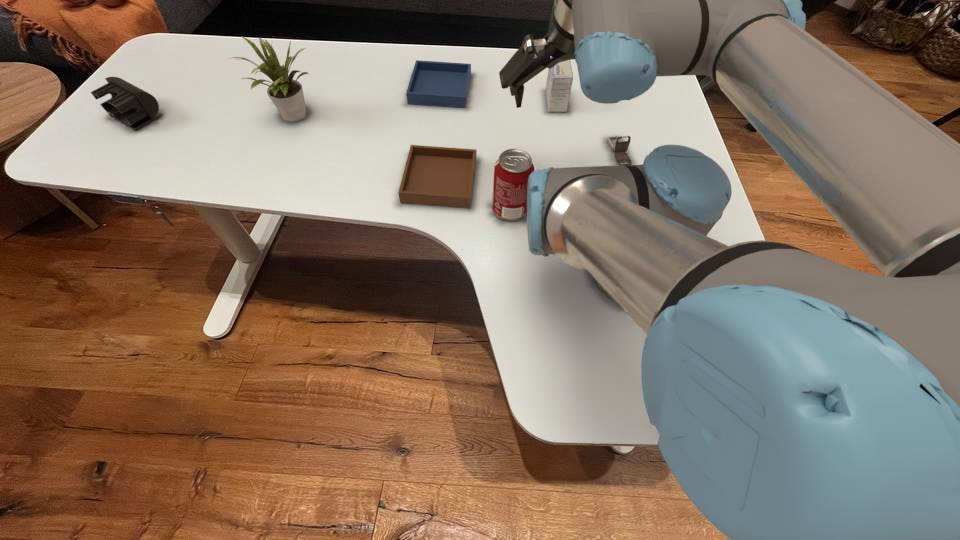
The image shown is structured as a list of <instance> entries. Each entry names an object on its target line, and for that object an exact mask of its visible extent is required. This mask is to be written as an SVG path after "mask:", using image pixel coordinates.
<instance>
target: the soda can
mask: <svg viewBox="0 0 960 540" xmlns="http://www.w3.org/2000/svg"><path fill="white" fill-rule="evenodd" d="M533 171H535V165H534V162H533V159H532V156H531V155H530V153H528V152H527V151H525V150H523V149H521V148H508V149H506V150H504V151H502V152H501V153H500V154H499V157H498V159H497V160H496V161H495V163H494V168H493V182H492V183H493V185H492V200H491V209H492V211H493V213H494V214H495V215H496V216H497V217H498V218H500V219H502V220H505V221H516V220H520V219H522V218H523V217H524V216H526V215H527V186H528V178H529V176H530V174H531V173H532V172H533Z"/></svg>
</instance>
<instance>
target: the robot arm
mask: <svg viewBox="0 0 960 540" xmlns="http://www.w3.org/2000/svg"><path fill="white" fill-rule="evenodd" d="M549 18H550V19H549V23H548V31H547V33H546V34H544V36H543V38H539V39H534V36H533V34H526V35H525V36H524V37H523V40H522V43H521V45H520V47H519V48H518V49H517V50H516V52H515V53H514V54H513V55H512V56H511V57H510V58H509V59H508V61H507V63H505V65H504V66H503V67H502V68H501V69H500V71H499V72H498V74H499V81H500V86H501V89H503V90H505V89H508V88H509V92H510V96H511V97H514V100H515V105H516V109H519V108H522V104H523V98H524V91H525V84H526V83H528V82H530V81H531V80H532V79H533V78H535V77H536V76H537V75H539V74H541V72H543V71H545V70H546V69H548V70H549V69H550V68H552V67H554V66H555V65H556V64H558V63H559V62H563V61H567V60H570V61H571V60H575V64H576V66H577V73H578V78H579V79H578V80H579V85H580V90H581V91H582V94H583V95H584V97H585V98H587V99H588V100H590V101H592V102H594V103H598V104H605V105H609V104H617V103H620V102H621V101H631V100H634V99H635V98H637V97H640V96H642V95H643V94H645V93H646V92H648V91H649V90H650V89H651V88H652V86H653V85H654V84H655V83H656V79H657V77H677V76H707V77H709V78H710V79H711V81H712V82H713V83H714V84H715V85H716V86H717V87H718V88H719V89H720V90H721V91H722V93H723V94H724V95H725V96H726V97H727V98H728V100H729V101H730V102H731V103H732V104H733V105H734V106H735V107H736V109H737V110H738V111H739V112H740V113H741V114H742V115H743V117H744V118H745V119H746V120H747V122H748V123H750V125H751V126H752V127H753V128H754V129H755V130H756V131H757V132H758V134H759V135H760V136H761V137H762V138H763V140H764V141H765V142H766V143H767V144H768V145H769V146H770V147H771V149H772V150H773V151H774V152H775V153H776V154H777V155H778V157H779V158H780V159H781V160H782V161H783V162H784V163H785V165H786V166H787V167H788V168H789V169H790V171H792V173H793V174H794V175H795V176H796V177H797V178H798V179H799V181H800V182H801V183H802V184H803V185H804V186H805V187H806V188H807V190H808V191H809V192H810V193H811V194H812V196H813V197H814V198H815V199H816V200H817V201H818V202H819V203H820V205H821V206H822V207H823V208H824V209H825V210H826V212H828V213H829V215H830V216H831V217H832V218H833V219H834V221H836V223H837V224H838V225H839V226H840V228H841V229H842V230H843V231H844V232H845V233H846V234H847V236H849V238H850V239H851V240H852V241H853V242H854V243H855V244H856V246H857V247H858V248H859V249H860V250H861V251H862V252H863V254H864V255H865V256H866V258H867V259H869V261H870V262H871V264H873V265H874V267H876V269H877V270H878V271H879V272H880V273H881V274H882V275H879V274H873V273H869V272H864V271H862V270H858V269H856V268H852V267H850V266H847V265H845V264H842V263H839V262H836V261H833V260H832V259H829V258H825V257H823V256H821V255H818V254H815V253H812V252H810V251H807V250H804V249H802V248H799V247H798V246H797V247H796V246H794V245H791V244H788V243H783V242H779V241H776V240H775V241H774V240H748V241H744V242H738V243H735V244H732V245H727V244H724V243H722V242H721V241H718V240H716V239H714V238H712V237H710V236H708V234H709V233H710V232H711V231H712V229H713V228H714V226H715V225H716V224H717V223H718V222H719V221H720V220H721V219H722V217H723V214H724V211H725V209H726V208H727V206H728V204H729V203H730V201H731V198H732V194H733V193H732V191H733V190H732V184H731V181H730V179H729V176H728V175H727V173H726V172H725V170H724V169H723V167H721V166H720V165H719V164H718V163H717V162H716V161H715V160H714V159H713V158H712V157H710V156H708V155H706V154H704V153H703V152H701V151H699V150H697V149H695V148H692V147H689V146H685V145H681V144H664V145H659V146H657V147H655V148H653V150H652V151H650V152H649V153H648V154H647V155H646V156H645V157H644V159H643V163H642V164H631V165H626V166H623V165H618V164H616V165H597V166H596V165H595V166H594V165H593V166H575V167H573V166H572V167H552V166H549V167H547V168H542V169H536V170H535V169H534V171H533V172H532V173H531V174H530V176H529V178H528V186H527V213H526V230H527V231H526V233H527V245H528V246H527V247H528V251H529V253H530V254H532V255H534V256H542V257H543V258H545V257H549V256H550V255H555V256H556V257H557V258H559V260H561V261H563V263H565V264H567V265H568V266H571V267H573V268H576V269H579V270H586V271H588V273H589V274H590V275H591V276H592V278H593V280H594V282H595V283H596V285H597V288H599V289H600V291H601V292H602V293H603V294H605V296H607V297H608V298H609V299H610V300H612V301H614V302H616V303H617V304H618V305H619V307H621V309H622V310H623V311H624V312H625V313H626V314H627V315H628V316H629V317H630V318H631V319H632V320H633V321H634V323H636V324H637V326H638V327H639V328H640V329H641V330H642V331H643V332H644V333H645V335H646V337H645V340H644V344H643V347H642V352H641V353H642V354H641V361H640V362H641V363H640V364H641V365H640V373H641V374H640V376H641V378H640V379H641V389H642V395H643V396H642V397H643V401H644V402H643V403H644V407H645V411H646V415H647V418H648V421H649V423H650V425H651V426H654V427H655V428H656V430H657V433H658V441H657V446H658V448H659V451H660V453H661V455H662V457H663V459H664V461H665V463H666V465H667V466H668V468H669V471H670V473H672V475H673V477H674V479H675V480H676V482H677V483H678V485H679V487H680V488H681V490H682V492H684V494H685V495H686V496H687V498H688V499H689V500H690V502H691V503H692V504H693V505H694V507H695V508H696V509H697V511H699V512H700V514H701V515H703V517H704V518H706V519H707V521H708V522H709V523H710V524H711V525H712V526H713V527H714V528H716V529H717V530H718V531H719V532H720V533H721V534H723V536H725V537H726V538H727V539H729V540H960V143H959V142H958V141H957V140H955V139H954V138H953V137H951V136H950V135H948V134H947V133H946V132H945V131H943V130H942V129H940V128H939V127H938V126H936V125H935V124H933V123H932V122H931V121H930V120H928V119H927V118H925V117H923V116H922V115H921V114H920V113H919V112H917V111H915V110H914V109H913V108H911V107H910V106H909V105H908V104H906V103H905V102H904V101H902V100H901V99H899V98H898V97H897V96H895V95H894V94H893V93H891V92H889V90H887V89H885V88H884V87H883V86H882V85H880V84H879V83H877V82H876V81H874V80H873V79H872V78H870V77H869V76H868V75H866V74H865V73H864V72H862V71H861V70H859V69H858V68H857V67H856V66H854V65H853V64H851V63H850V62H848V61H847V60H846V59H844V58H843V57H841V56H840V55H839V54H838V53H836V51H834V50H832V49H831V48H829V47H828V46H827V45H825V44H824V43H822V41H820V40H819V39H817V38H816V37H815V36H814V35H812V34H810V33H809V32H808V31H806V23H807V14H806V13H805V12H804V10H803V2H802V0H554V2H553V7H552V9H551V13H550V17H549ZM551 57H553V58H551Z"/></svg>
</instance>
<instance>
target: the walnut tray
mask: <svg viewBox="0 0 960 540" xmlns="http://www.w3.org/2000/svg"><path fill="white" fill-rule="evenodd" d="M476 165H477V149H475V148H474V149H473V148H462V147H461V148H460V147H447V146H446V147H445V146H434V145H419V144H410V146H409V150H408V154H407V159H406V162H405V166H404V170H403V173H402V178H401V182H400V185H399V189H398V192H397V193H398V198H399V202H400V204H408V205H422V206H435V207H450V208H460V209H461V208H462V209H471V205H472V198H473V197H472V196H473V189H474V181H475V174H476Z"/></svg>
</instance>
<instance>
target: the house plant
mask: <svg viewBox="0 0 960 540" xmlns="http://www.w3.org/2000/svg"><path fill="white" fill-rule="evenodd" d="M240 37H241V38H242V39H243V40H244V41H245V42H247V43H248V44H249V46H251V48H252V49H253V50H254V52H255V54H256V55H257V56H258V58H260V60H262V63H260V64H257V63H255V62H254V61H252V60H250V59H249V58H245V57H241V56H234V57H229V58H227V60H229V59H235V60H238V59H240V60H243V61H247V62H248V63H251V64H253V65H254V66H256V67H255V68H253V70H251V72H250V74H253V73H254V72H255V73H254V75H256V74H257V73H259V72H260V73H262V74H264V75H265V76H267V77H268V79H270V80H271V81H272V82H271V81H270V80H266V79H260V78H259V79H256V78H253V77H242V78H241V80H244V79H245V80H251V81H252V83H251V85H250V90H252V89H253V88H255V87H257V86H258V85H260V84H261V85H265V86H267V90H266V93H267V94H266V95H268V97H269V99H270V100H271V102H272V104H273V105H274V107H275V108H276V110H277V112H278V113H279V114H280V116H281V117H282V119H283V120H284V121H286V122H291V123H295V122H298V121H301V120H303V119H304V118H306V116H307V114H308V113H307V107H306V101H305V95H304V89H303V85H302V83H301V82H300V81H298V79H299V78H300V77H302V76H304V75H310V73H309V72H308V71H304V72H303V71H301V70H297V69H296V70H295V69H294V70H291V71H290V69H291V67H292V64H293V62H294V61H295V60H296V58H297V56H298V55H299V54H300V53H301V52H303V51H304V50H306V49H307V48H306V47H304V48H300V49H298V51H296V52H295V54H294V56H290V53H291V44H292V43H291V42H292V40H290V41H289V44H288V46H287V52H286V58H285V60H284V61H285V62H284V64H282V65H281V63H280V60H279V58H278V55H277V53H276V51H275V49H274V48H273V44H271V43H273V42H274V40H272V41H271V43H270V42H269V41H268V40H267V39H263V38H261V37H260V36H259V37H258V39H259V44H260V46H261V50H262V52H261V50H260V48H259V47H258V46H257V45H256V44H255V42H253V41H252V40H250V39H248V38H246V37H245V36H240ZM296 73H300V74H299V75H298V76H297V77H296V79H294V77H295V75H296ZM264 82H267V83H264ZM268 83H270V84H268Z"/></svg>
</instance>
